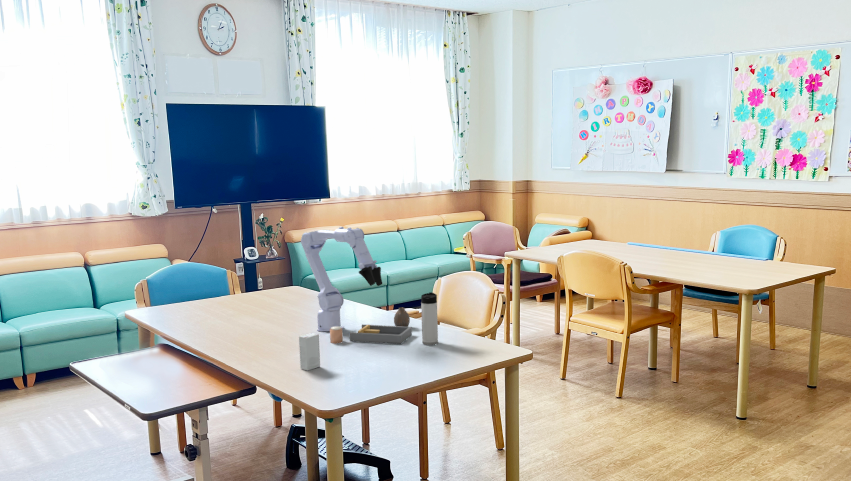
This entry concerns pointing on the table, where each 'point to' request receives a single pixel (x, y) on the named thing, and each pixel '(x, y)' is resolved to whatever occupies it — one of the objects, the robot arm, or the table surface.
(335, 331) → the jar
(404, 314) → the brown rounded piece
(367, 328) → the pusher
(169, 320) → the table surface
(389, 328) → the lane
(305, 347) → the skincare box
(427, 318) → the travel mug
